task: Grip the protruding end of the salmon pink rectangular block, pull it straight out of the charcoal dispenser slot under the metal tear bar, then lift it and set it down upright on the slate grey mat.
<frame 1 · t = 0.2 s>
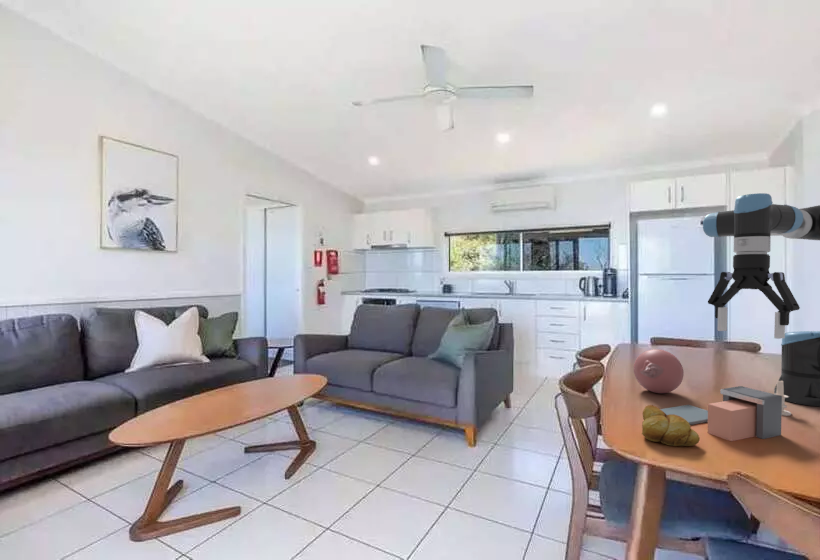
hand: (749, 334, 110), 27 cm above the table, fingers open, 13 cm apart
dispenser: (750, 430, 114), on the table
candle: (779, 413, 128), on the table
salmon pink rectangular block: (735, 433, 112), on the table
mat: (684, 416, 125), on the table
balloon: (654, 394, 148), on the table
bread roll: (668, 442, 107), on the table
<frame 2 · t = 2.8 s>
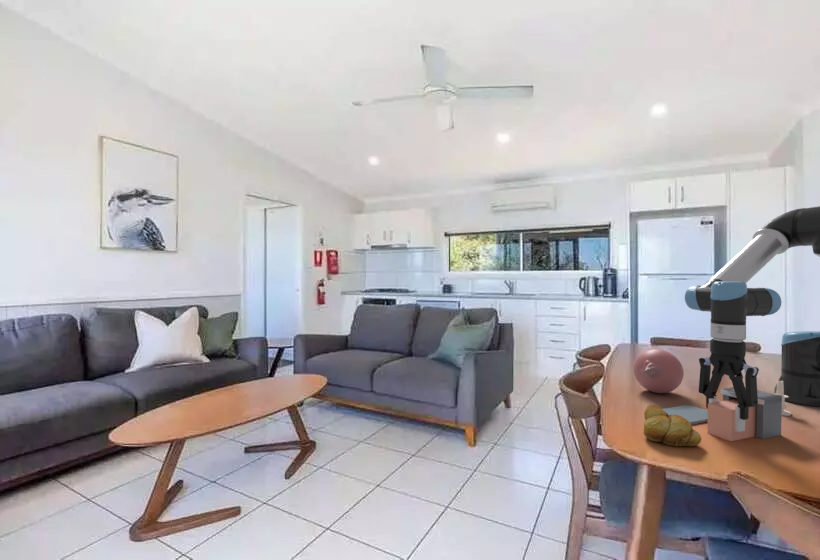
hand: (726, 426, 111), 2 cm above the table, fingers closed on salmon pink rectangular block, 6 cm apart
salmon pink rectangular block: (735, 433, 112), on the table, touching gripper
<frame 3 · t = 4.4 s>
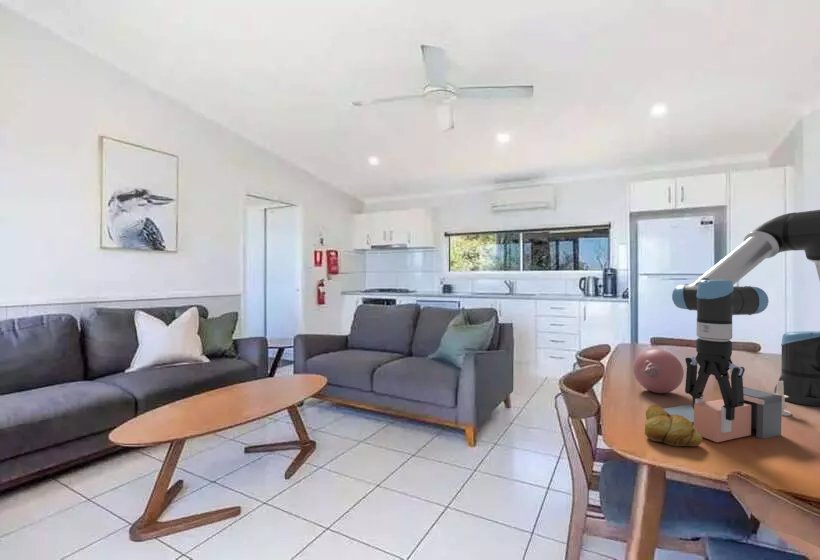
hand: (712, 426, 109), 3 cm above the table, fingers closed on salmon pink rectangular block, 6 cm apart
salmon pink rectangular block: (722, 434, 110), on the table, touching gripper
everything else where it was.
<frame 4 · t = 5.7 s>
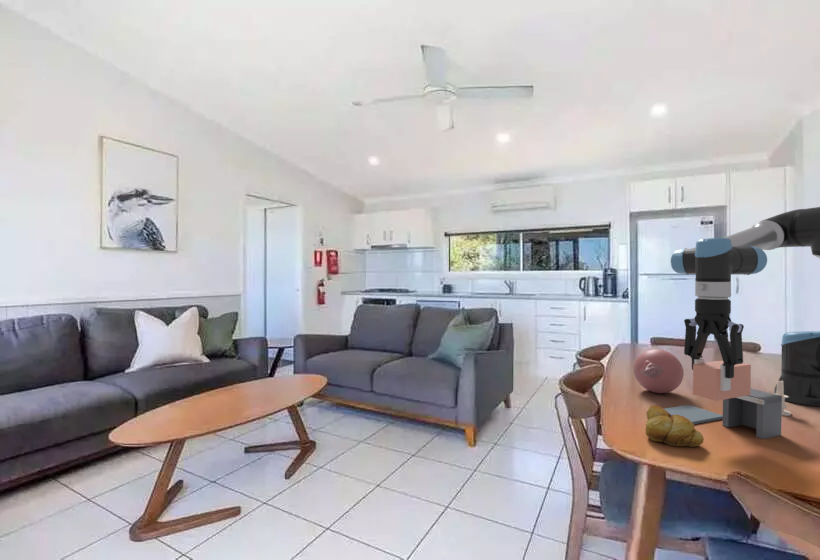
hand: (711, 386, 109), 14 cm above the table, fingers closed on salmon pink rectangular block, 6 cm apart
salmon pink rectangular block: (721, 394, 110), point 11 cm above the table, touching gripper
everything else where it was.
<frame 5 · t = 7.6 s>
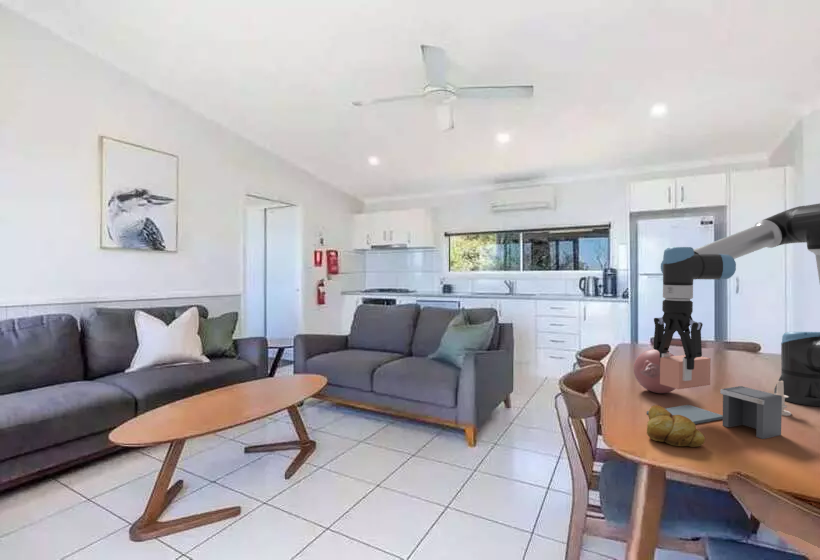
hand: (676, 377, 124), 12 cm above the table, fingers closed on salmon pink rectangular block, 6 cm apart
salmon pink rectangular block: (684, 384, 125), point 10 cm above the table, touching gripper
when the fingers open (5 cm above the table, at t = 9.0 s): salmon pink rectangular block drops 2 cm, resting on mat.
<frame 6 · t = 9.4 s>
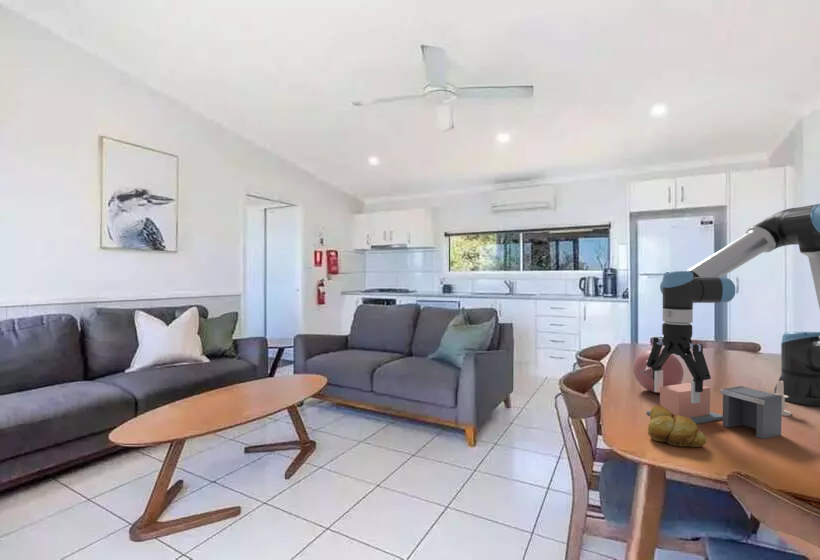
hand: (676, 396, 124), 6 cm above the table, fingers open, 11 cm apart
salmon pink rectangular block: (684, 413, 125), point 1 cm above the table, touching mat
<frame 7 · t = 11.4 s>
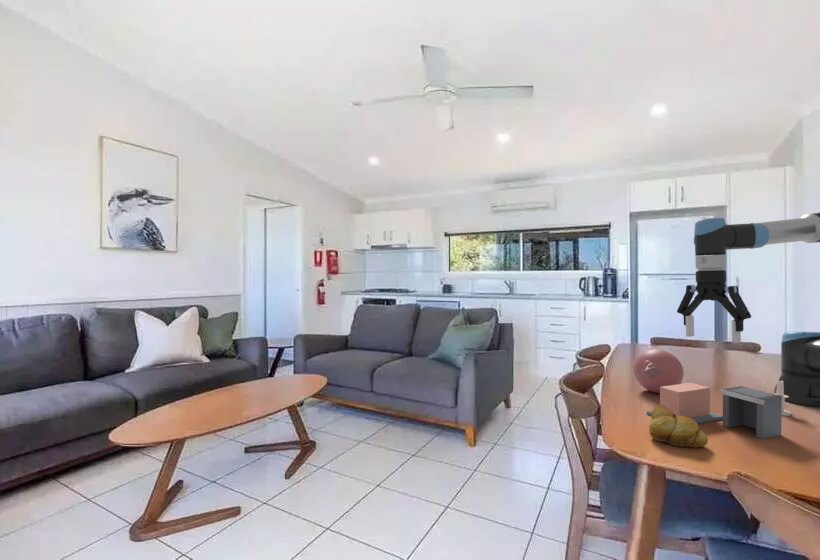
hand: (712, 339, 127), 23 cm above the table, fingers open, 13 cm apart
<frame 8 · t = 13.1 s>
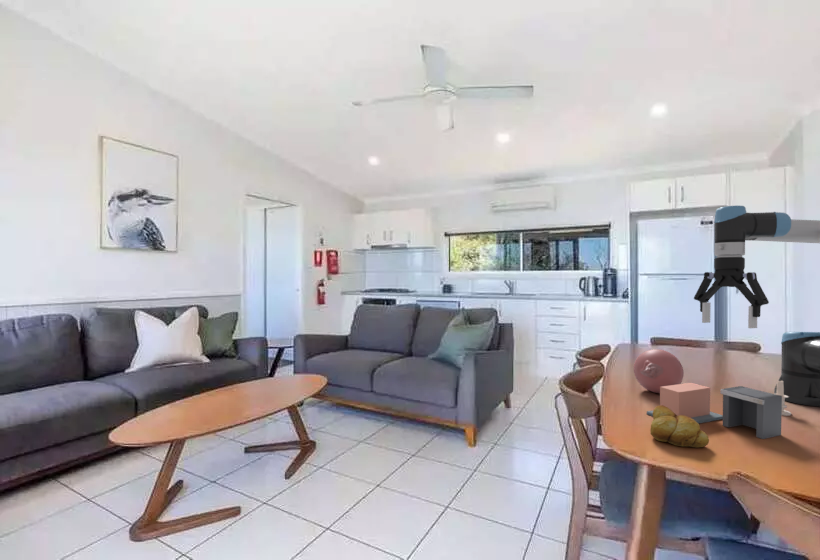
hand: (728, 325, 129), 27 cm above the table, fingers open, 13 cm apart
at the end: salmon pink rectangular block inside the target area on the mat (0.1 cm from its centre), point 0.8 cm above the mat's base; salmon pink rectangular block tilted 0°; the gripper is holding nothing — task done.
